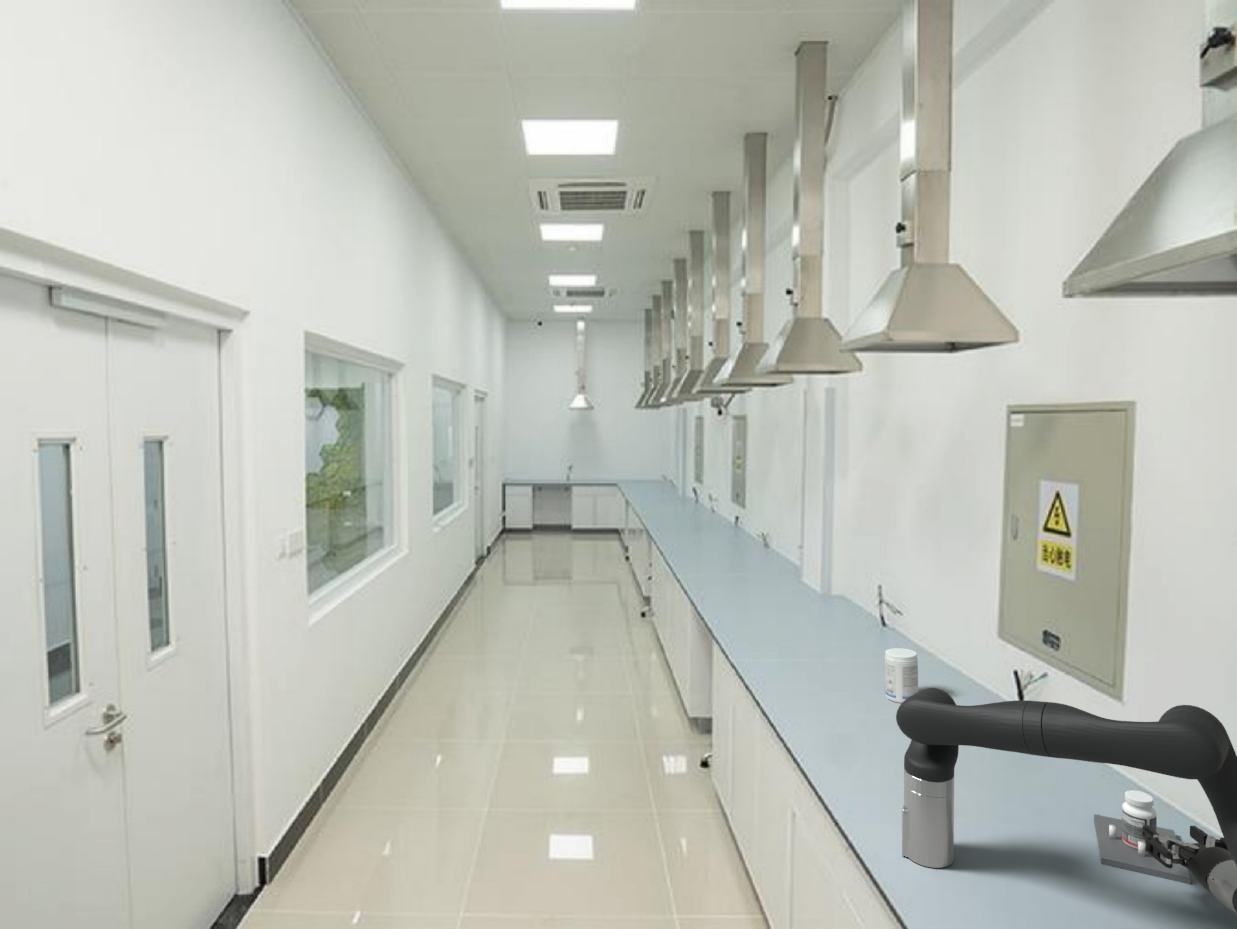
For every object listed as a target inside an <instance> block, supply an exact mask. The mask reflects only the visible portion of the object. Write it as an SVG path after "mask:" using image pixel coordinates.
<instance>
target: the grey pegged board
mask: <svg viewBox="0 0 1237 929" xmlns="http://www.w3.org/2000/svg"><path fill="white" fill-rule="evenodd" d="M1093 823H1094V828H1095V834H1096V835H1095V836H1096V841H1097V848H1098V854H1099V860H1100V864H1101V865H1106V866H1110V867H1113V868H1119V869H1122V870H1123V869H1124V870H1128V871H1131V872H1135V873H1140V874H1143V875H1149V876H1153V877H1154V876H1155V877H1159V878H1162V877H1163V879H1167V880H1171V881H1175V880H1176V881H1175V882H1179V881H1180V882H1179V883H1184V882H1186V883H1185V884H1188V883H1191V881H1192V880H1191V879H1192V878H1191V875H1190V872H1189V869H1188V868H1186V867H1184V866H1182V865H1181V864H1173V868H1167V867H1165V866H1164V865H1163V864H1161V863H1160V862H1159V861H1158V860H1156V859H1155V858H1154V857H1153V856H1151V855H1150V854H1149V853H1148V852H1147V851H1145V847H1146V843H1145V842H1143V841H1138V849H1135V848H1132V847H1130V846H1128V845H1127V844H1126V843H1124V841H1123V840H1122V818H1121V819H1119V818H1116V817H1110V816H1107V815H1101V814H1100V815H1099V814H1095V813H1094V814H1093ZM1156 832H1157V833H1158V834H1159V836H1162V837H1164V838H1167V839H1170V838H1174V839H1176V840H1178V838H1177V834H1176V833H1175V830H1174V829H1170V828H1164V827H1159V826H1156ZM1161 845H1162V846H1163V847H1165V848H1166V849H1167V844H1165V843H1163V842H1161ZM1178 852H1179V846H1176V845H1175V854H1176V855H1177V856H1178Z"/></svg>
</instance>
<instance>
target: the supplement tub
mask: <svg viewBox="0 0 1237 929" xmlns="http://www.w3.org/2000/svg"><path fill="white" fill-rule="evenodd" d="M884 653H885V654H884V678H885V679H884V680H885V681H884V684H885V697H886V698H887V699H888V700H889V701H891V702H894V703H897V704H902V703H903V702H904V701H905V700H906V699H907V698H909V697H910V696H912V695H914V694H916V693H917V692H919V669H918V668H919V665H918V662H919V660H918V653H917V652H916V651H914V650H912V649H908V648H902V647H901V648H899V647H895V648H888V649H886V650H885V652H884Z"/></svg>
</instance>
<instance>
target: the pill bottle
mask: <svg viewBox="0 0 1237 929" xmlns="http://www.w3.org/2000/svg"><path fill="white" fill-rule="evenodd" d="M1124 800H1125V801H1124V802H1123V803H1122V805H1121V820H1122V840H1123V841H1124V843H1126V844H1127V845H1128V846H1130V847H1132V848H1135V849H1138V841H1143V842H1145V843H1146V840H1145V838H1144V837H1143V836H1142V828H1143V825H1148V826H1149V827H1151V828H1152V829H1153V830H1154V831H1155V832H1156V827H1157V818H1158V817H1157V815H1158V814H1157V811H1156V810H1155V808H1154V807H1153V806H1154V797H1153V796H1152V795H1150V794H1149V793H1146V792H1145V791H1144V792H1143V791H1140V790H1133V789H1132V790H1126V791H1125V792H1124Z"/></svg>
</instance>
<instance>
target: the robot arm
mask: <svg viewBox="0 0 1237 929" xmlns="http://www.w3.org/2000/svg"><path fill="white" fill-rule="evenodd" d="M895 718H896V723H897V726H898V728H899V730H900V731H901V732H902V734H904V735H905V736H906V737H907V738H908V739H910V740H911V741H910V743H909V745H908V748H907V749H906V752H905V754H904V758H903V759H904V760H903V767H904V768H903V806H902V810H901V856H902V857H904V856H905V858H907V857H908V859H909V860H911V861H912V862H914V863H916V864H917V865H921V866H923V867H927V868H934V869H939V868H946V867H949V866H951V865H952V864H953V863H954V857H955V856H954V853H955V848H954V847H955V845H954V844H955V842H954V841H955V838H954V837H955V834H954V833H955V823H954V822H955V766H956V764H957V761H958V758H959V751H960V750H959V748H960V747H959V746H969V747H977V748H984V749H990V750H997V751H1005V752H1012V753H1020V754H1025V755H1031V756H1037V757H1044V758H1052V759H1054V758H1055V759H1062V760H1063V759H1065V760H1075V761H1082V762H1090V763H1099V764H1109V765H1117V766H1121V767H1122V766H1123V767H1128V768H1134V769H1138V770H1143V771H1146V772H1151V773H1156V774H1161V775H1165V776H1169V777H1175V778H1178V779H1184V780H1185V779H1186V780H1197V782H1198V784H1200V786H1201V788H1202V789H1203V792H1204V793H1205V795H1206V797H1207V799H1208V801H1209V804H1210V805H1211V808H1212V810H1213V813H1214V814H1215V817H1216V820H1217V823H1218V826H1219V828H1220V832H1221V834H1222V836H1223V837H1222V836H1221V837H1219V839H1218V838H1217V839H1216V837H1215V836H1214V835H1210V834H1208V833H1206V832H1205V831H1204V830H1202V829H1200V828H1198V827H1197V826H1196V825H1190V826H1189V836H1190V838H1191V839H1193V840H1194V841H1195V843H1188V842H1184V841H1181V840H1179V839H1177V840H1176V839H1174V838H1170V839H1167V838H1164V837H1162V836H1159V834H1158V833H1157V832H1155V831H1154V830H1153V829H1152V828H1151V827H1149V826H1148V825H1143V828H1142V836H1143V837H1144V838H1145V840H1146V847H1145V851H1147V852H1148V853H1149V854H1150V855H1151V856H1153V857H1154V858H1155V859H1156V860H1158V861H1159V862H1160V863H1161V864H1163V865H1164V866H1165V867H1167V868H1173V864H1181V865H1182V866H1184V867H1186V868H1187V869H1188V871H1190V872H1191V875H1192V876H1193V878H1194V879H1195V880H1196V882H1197V883H1198V884H1199V885H1201V886H1202V887H1203V888H1204V889H1206V891H1208V892H1209V893H1210V894H1211V895H1212V896H1214V898H1215V899H1217V900H1218V901H1219V902H1220V903H1221V904H1223V906H1225V907H1226V908H1227V909H1229V910H1231V911H1232V912H1233V913H1235V914H1236V915H1237V753H1236V750H1235V748H1234V747H1233V743H1232V742H1231V739H1230V736H1229V734H1228V731H1227V729H1226V728H1225V726H1224V725H1223V723H1222V722H1221V721H1220V720H1219V719H1218V717H1216V716H1215V715H1214V714H1213V713H1211V712H1210V711H1209V710H1206V709H1205V708H1202V707H1199V706H1195V705H1192V704H1179V705H1175V706H1173V707H1171V708H1169V709H1168V710H1166V711H1165V712H1164V713H1163V714H1162V715H1161V717H1160V718H1159V720H1158V721H1132V720H1118V719H1117V720H1116V719H1111V718H1105V717H1102V716H1099V715H1096V714H1093V713H1090V712H1088V711H1086V710H1083V709H1080V708H1077V707H1075V706H1072V705H1068V704H1064V703H1059V702H1052V701H1041V700H1040V701H1038V700H1023V699H1022V700H1018V699H1017V700H1007V701H1000V702H999V701H998V702H992V703H990V702H989V703H983V704H977V705H960V704H959V705H957V703H956V702H955V700H954V698H953V697H952V696H951V695H950V694H949V693H948V692H946V691H944V690H943V689H941V688H938V687H926V688H923V689H921V690H918V692H917V693H916V694H914V695H912V696H910V697H909V698H907V699H906V700H905V701H904V702H903V703H900V705H899V706H898V708H897V710H896V714H895ZM1161 842H1163V843H1165V844H1167V849H1166V848H1165V847H1163V846H1162V845H1161ZM1175 845H1176V846H1179V852H1178V856H1177V855H1176V854H1175Z"/></svg>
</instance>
